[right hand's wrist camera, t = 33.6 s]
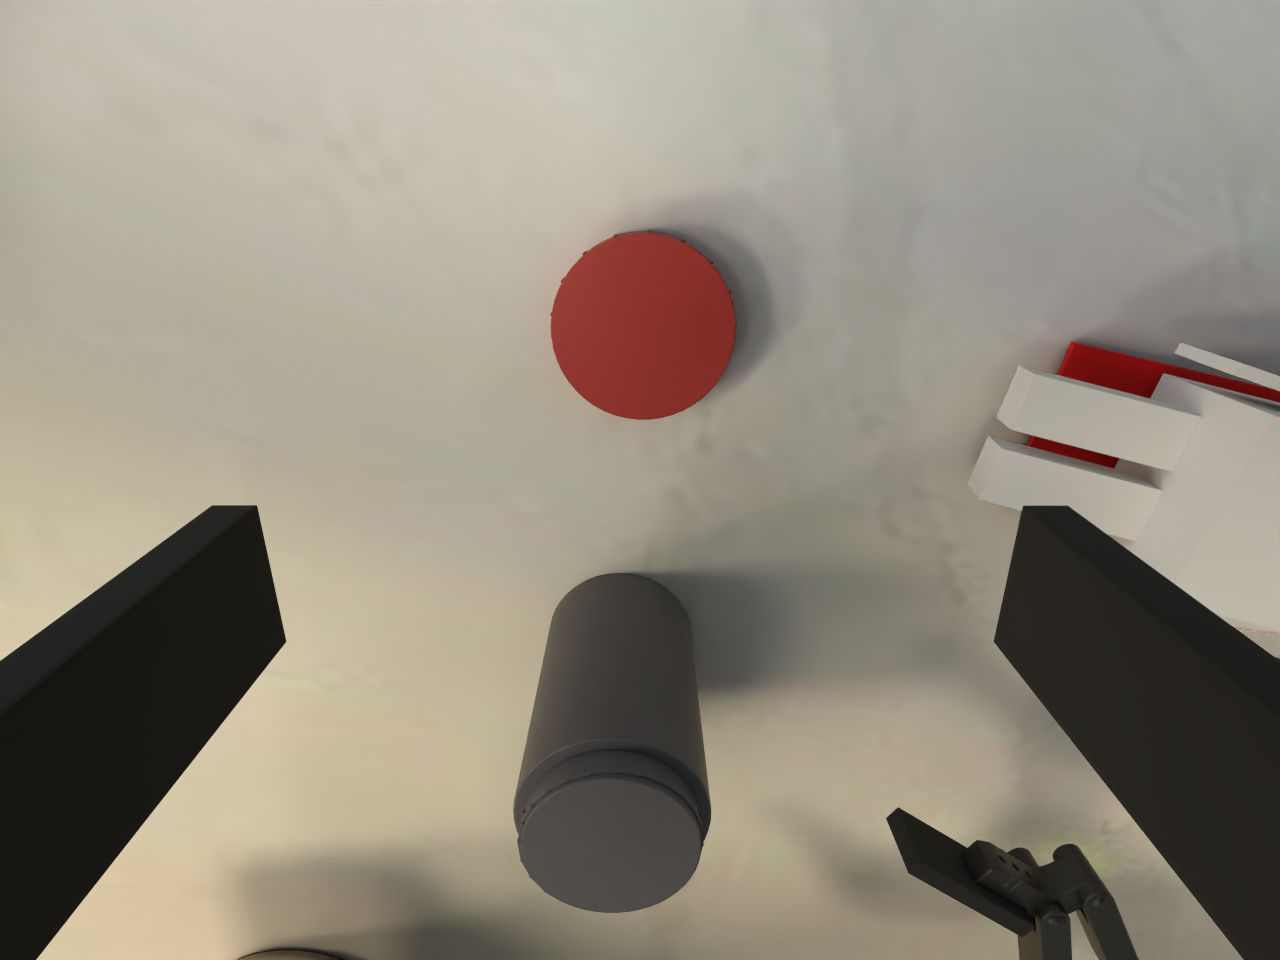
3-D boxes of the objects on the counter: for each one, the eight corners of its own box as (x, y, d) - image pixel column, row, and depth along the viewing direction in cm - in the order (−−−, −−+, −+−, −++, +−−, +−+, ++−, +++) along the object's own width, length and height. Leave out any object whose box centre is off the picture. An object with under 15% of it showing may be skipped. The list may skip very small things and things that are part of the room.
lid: (555, 223, 35) (551, 225, 33) (742, 236, 35) (747, 238, 33) (551, 404, 38) (547, 414, 37) (722, 414, 38) (726, 425, 37)
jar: (612, 546, 41) (597, 732, 27) (719, 629, 43) (758, 841, 29) (521, 640, 44) (464, 856, 30) (627, 714, 46) (622, 950, 32)
